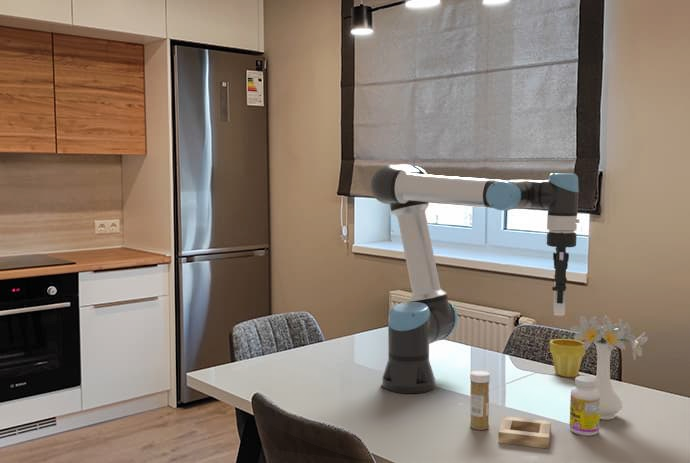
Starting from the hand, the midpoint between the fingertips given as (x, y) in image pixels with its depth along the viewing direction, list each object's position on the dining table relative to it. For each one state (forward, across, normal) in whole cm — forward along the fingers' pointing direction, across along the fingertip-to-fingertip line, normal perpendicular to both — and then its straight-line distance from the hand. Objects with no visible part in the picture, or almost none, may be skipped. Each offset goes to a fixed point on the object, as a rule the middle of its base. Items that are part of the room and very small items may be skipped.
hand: (558, 310), depth 190 cm
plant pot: (+25, +26, -4) cm, 36 cm away
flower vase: (+24, -10, -12) cm, 29 cm away
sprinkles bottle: (+25, -27, +18) cm, 41 cm away
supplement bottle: (+24, -23, -6) cm, 34 cm away
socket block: (+24, -31, +7) cm, 40 cm away
